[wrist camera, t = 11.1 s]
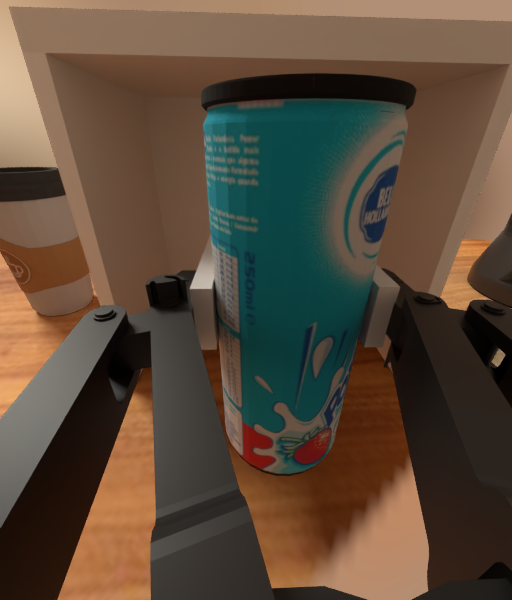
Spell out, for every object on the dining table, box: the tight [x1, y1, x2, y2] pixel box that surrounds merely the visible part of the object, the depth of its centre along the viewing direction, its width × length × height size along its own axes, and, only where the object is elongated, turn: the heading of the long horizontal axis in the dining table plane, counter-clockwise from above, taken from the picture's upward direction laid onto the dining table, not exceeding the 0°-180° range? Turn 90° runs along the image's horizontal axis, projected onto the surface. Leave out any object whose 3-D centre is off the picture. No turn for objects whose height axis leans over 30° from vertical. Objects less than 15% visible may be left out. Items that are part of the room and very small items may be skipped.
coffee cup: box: [0, 167, 93, 316], centre depth 31 cm, size 8×8×15 cm
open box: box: [9, 7, 512, 379], centre depth 24 cm, size 24×15×22 cm, turn 92°
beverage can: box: [201, 73, 417, 476], centre depth 12 cm, size 6×6×15 cm
